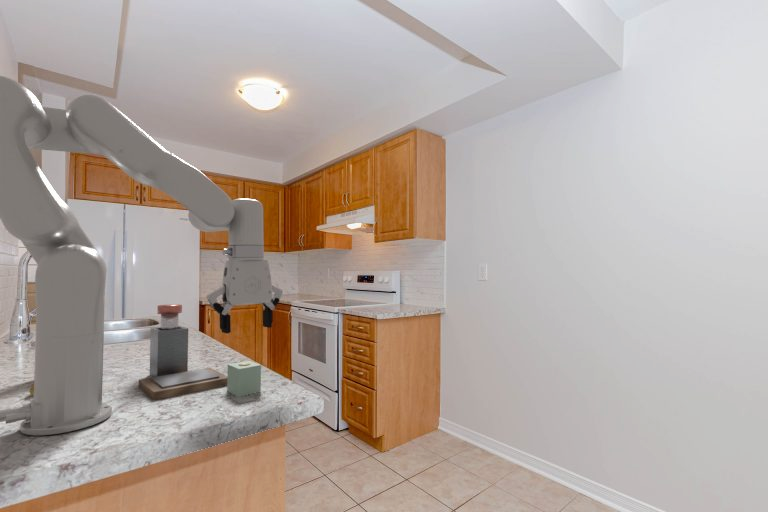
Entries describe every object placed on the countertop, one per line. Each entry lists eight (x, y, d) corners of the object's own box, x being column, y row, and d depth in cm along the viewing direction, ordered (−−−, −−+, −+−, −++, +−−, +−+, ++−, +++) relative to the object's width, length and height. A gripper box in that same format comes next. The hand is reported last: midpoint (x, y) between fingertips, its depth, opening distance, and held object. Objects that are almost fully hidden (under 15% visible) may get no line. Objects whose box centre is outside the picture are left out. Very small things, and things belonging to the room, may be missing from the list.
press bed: (153, 400, 80) (153, 390, 80) (138, 386, 89) (138, 378, 89) (230, 384, 91) (230, 375, 91) (209, 373, 100) (209, 366, 101)
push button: (160, 342, 96) (161, 306, 96) (154, 339, 100) (154, 305, 100) (184, 340, 100) (185, 305, 100) (177, 337, 104) (178, 304, 104)
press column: (157, 380, 95) (158, 331, 95) (149, 374, 100) (150, 328, 100) (187, 374, 100) (188, 328, 100) (178, 370, 105) (179, 325, 105)
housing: (238, 397, 82) (239, 368, 82) (227, 391, 86) (227, 363, 86) (260, 392, 85) (260, 364, 86) (248, 386, 90) (248, 360, 90)
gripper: (213, 253, 78) (214, 337, 78) (288, 253, 91) (290, 326, 90) (200, 254, 84) (201, 333, 83) (273, 254, 96) (274, 323, 95)
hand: (247, 329), depth 87 cm, fingers open, 9 cm apart
